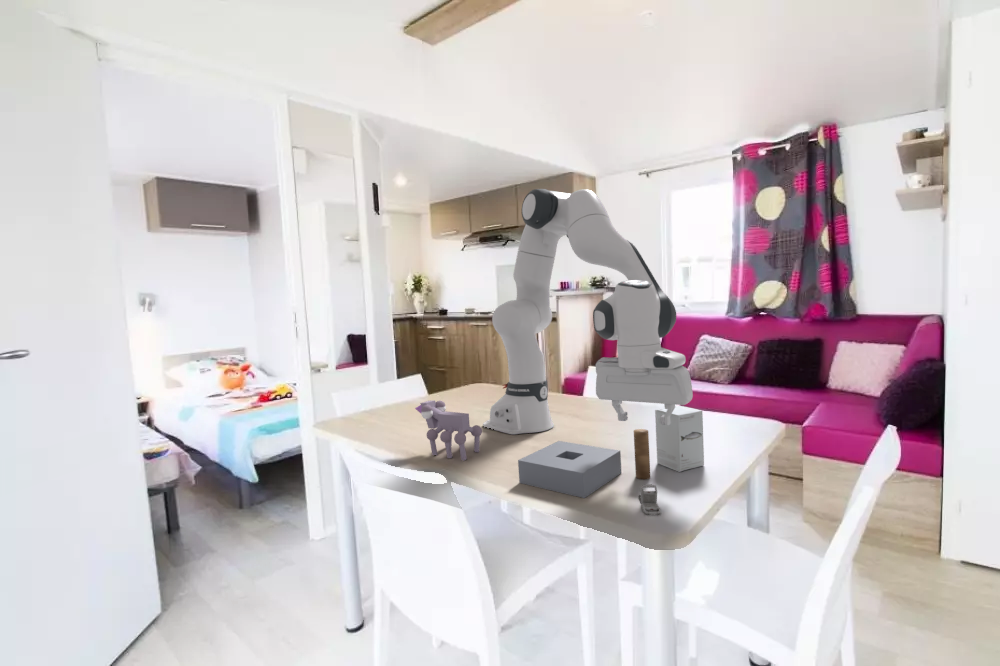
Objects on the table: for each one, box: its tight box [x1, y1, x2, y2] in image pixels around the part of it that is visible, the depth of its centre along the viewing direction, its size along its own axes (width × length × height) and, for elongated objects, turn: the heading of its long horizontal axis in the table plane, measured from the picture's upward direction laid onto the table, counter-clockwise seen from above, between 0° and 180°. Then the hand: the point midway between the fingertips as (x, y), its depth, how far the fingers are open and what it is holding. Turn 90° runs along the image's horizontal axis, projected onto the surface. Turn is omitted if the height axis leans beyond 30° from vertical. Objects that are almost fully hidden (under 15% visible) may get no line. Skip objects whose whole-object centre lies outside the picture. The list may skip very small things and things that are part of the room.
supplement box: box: [654, 405, 705, 473], centre depth 112 cm, size 7×7×13 cm
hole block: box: [517, 440, 622, 499], centre depth 109 cm, size 16×16×5 cm
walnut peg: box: [633, 428, 651, 480], centre depth 107 cm, size 3×3×10 cm
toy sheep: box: [414, 400, 483, 462], centre depth 134 cm, size 20×11×14 cm, turn 56°
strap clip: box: [638, 483, 662, 516], centre depth 93 cm, size 8×3×4 cm, turn 172°
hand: (643, 422), depth 106 cm, fingers open, 8 cm apart
